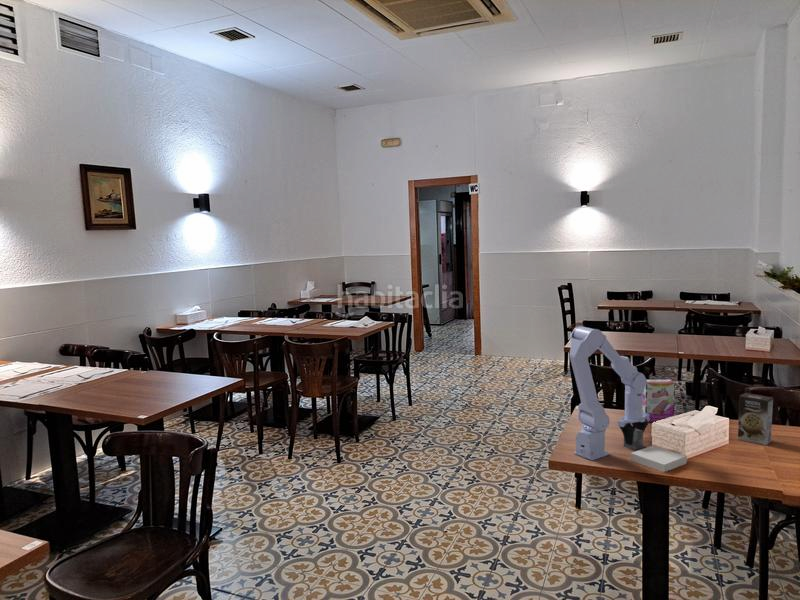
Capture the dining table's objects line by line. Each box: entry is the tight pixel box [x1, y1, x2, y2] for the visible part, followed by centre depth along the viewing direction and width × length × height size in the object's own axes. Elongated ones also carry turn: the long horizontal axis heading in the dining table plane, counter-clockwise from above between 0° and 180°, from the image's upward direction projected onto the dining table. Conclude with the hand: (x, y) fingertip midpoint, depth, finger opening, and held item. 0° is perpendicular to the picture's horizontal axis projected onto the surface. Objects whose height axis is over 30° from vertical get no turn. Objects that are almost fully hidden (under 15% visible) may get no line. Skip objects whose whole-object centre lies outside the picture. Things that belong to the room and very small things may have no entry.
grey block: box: [623, 429, 644, 451], centre depth 198 cm, size 4×4×6 cm
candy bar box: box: [643, 379, 676, 423], centre depth 224 cm, size 11×5×16 cm, turn 84°
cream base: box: [630, 444, 688, 473], centre depth 184 cm, size 12×12×2 cm
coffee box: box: [737, 392, 774, 446], centre depth 200 cm, size 9×6×16 cm
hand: (633, 442), depth 198 cm, fingers closed on grey block, 4 cm apart
